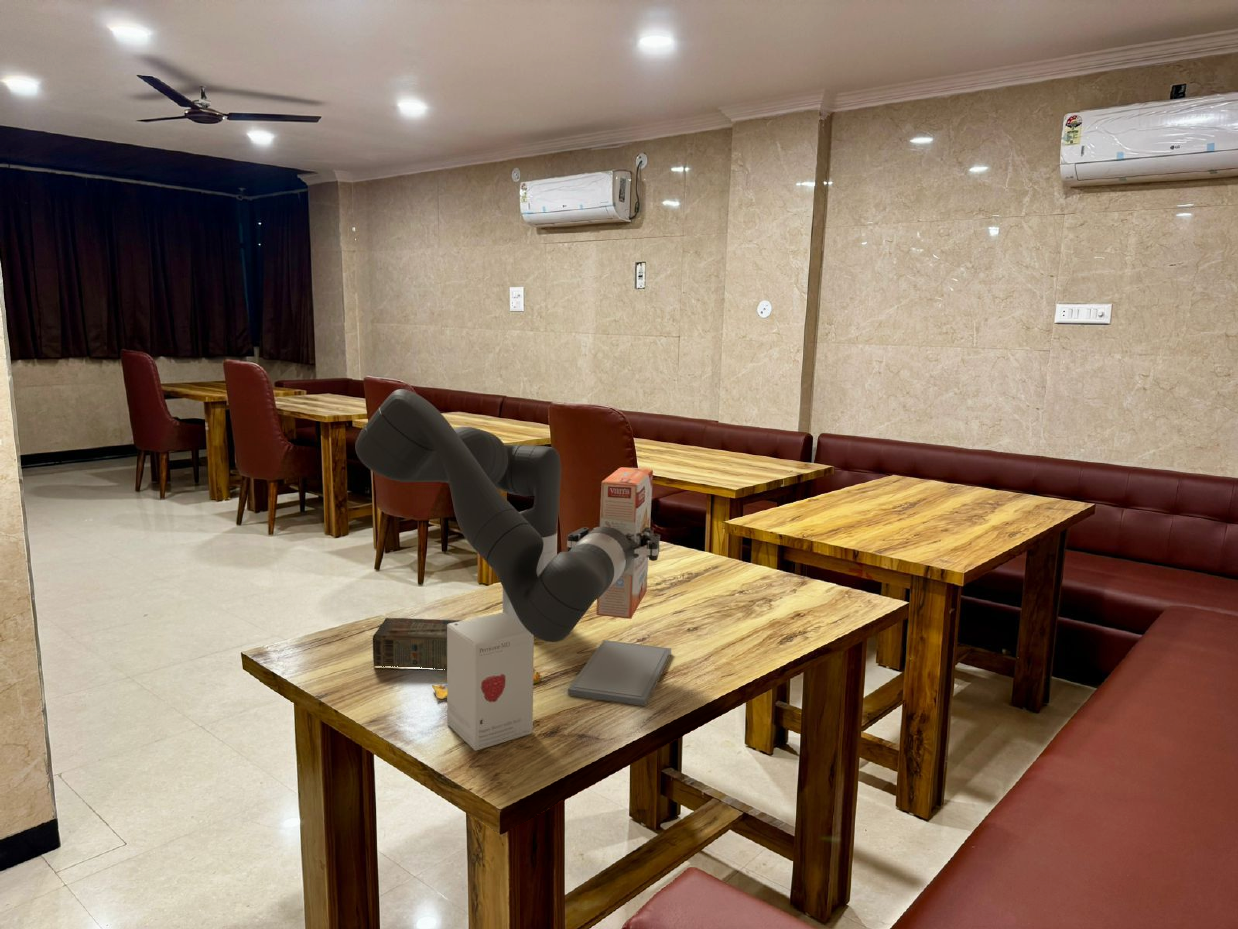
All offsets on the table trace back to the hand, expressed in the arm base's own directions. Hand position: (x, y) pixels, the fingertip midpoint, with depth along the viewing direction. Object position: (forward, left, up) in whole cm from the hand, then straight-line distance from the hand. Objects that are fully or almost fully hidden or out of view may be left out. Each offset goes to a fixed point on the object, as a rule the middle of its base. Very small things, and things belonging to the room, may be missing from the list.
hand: (627, 531), depth 128 cm
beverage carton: (-31, -5, -24) cm, 39 cm away
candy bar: (-19, -12, -24) cm, 33 cm away
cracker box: (0, -1, -12) cm, 12 cm away
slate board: (0, -1, -23) cm, 23 cm away
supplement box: (-13, -24, -24) cm, 36 cm away
